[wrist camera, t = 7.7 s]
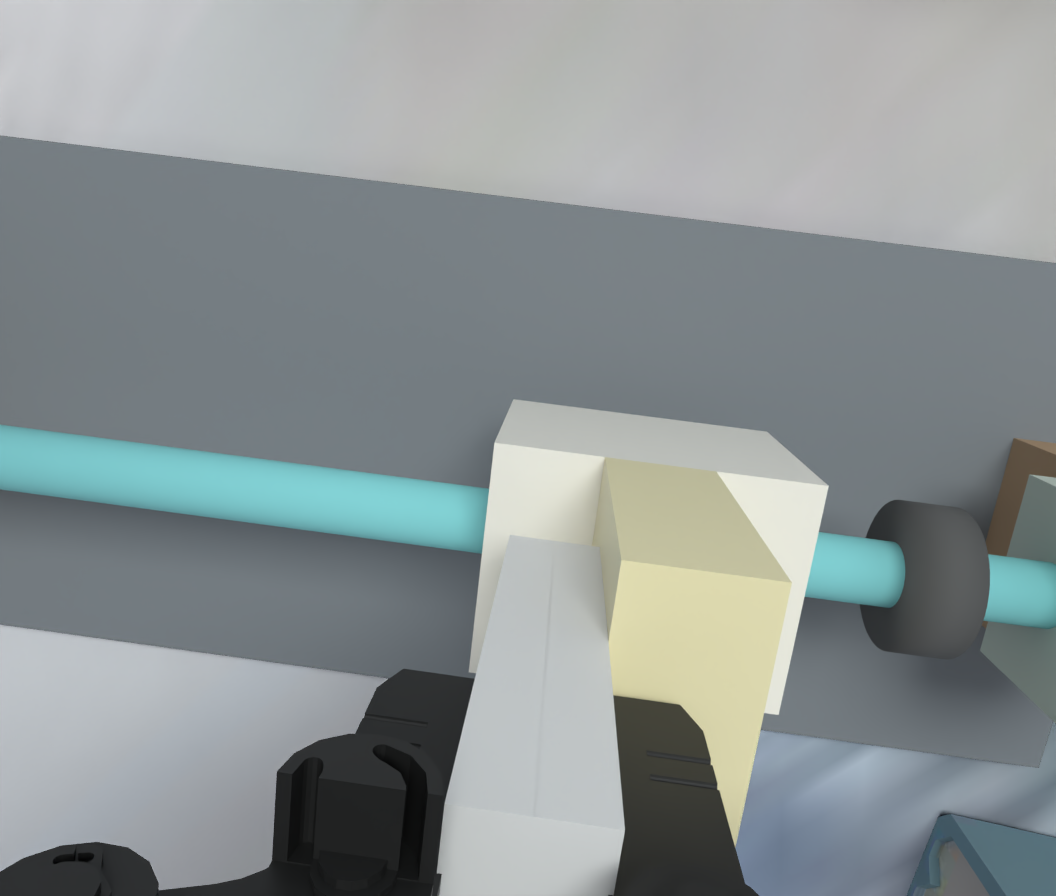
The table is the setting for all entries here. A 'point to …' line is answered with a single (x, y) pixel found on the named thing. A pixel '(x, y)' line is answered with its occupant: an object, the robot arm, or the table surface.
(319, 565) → the cord rig
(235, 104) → the table surface
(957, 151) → the table surface
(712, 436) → the sliding rod collar
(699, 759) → the robot arm
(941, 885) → the book
